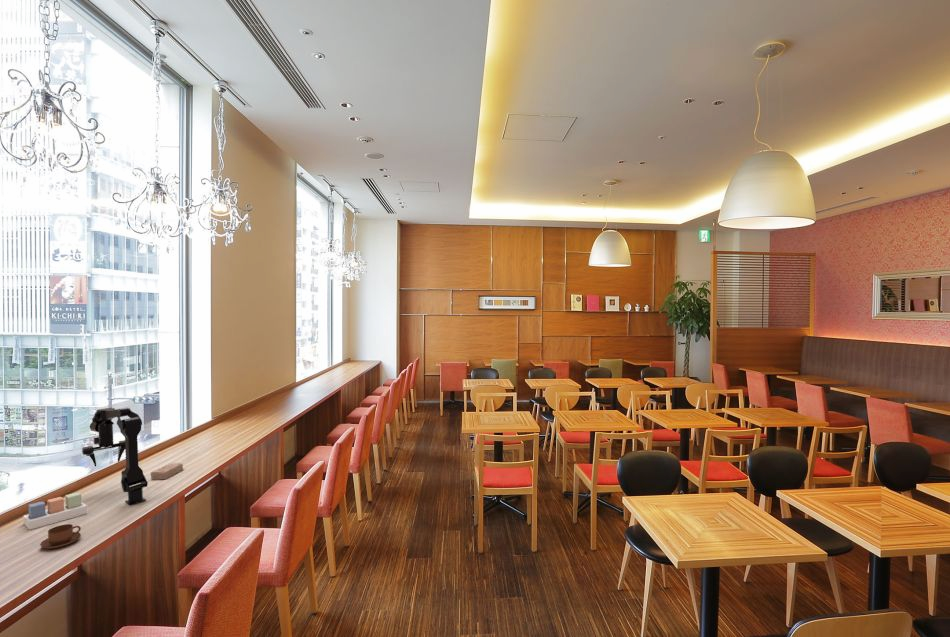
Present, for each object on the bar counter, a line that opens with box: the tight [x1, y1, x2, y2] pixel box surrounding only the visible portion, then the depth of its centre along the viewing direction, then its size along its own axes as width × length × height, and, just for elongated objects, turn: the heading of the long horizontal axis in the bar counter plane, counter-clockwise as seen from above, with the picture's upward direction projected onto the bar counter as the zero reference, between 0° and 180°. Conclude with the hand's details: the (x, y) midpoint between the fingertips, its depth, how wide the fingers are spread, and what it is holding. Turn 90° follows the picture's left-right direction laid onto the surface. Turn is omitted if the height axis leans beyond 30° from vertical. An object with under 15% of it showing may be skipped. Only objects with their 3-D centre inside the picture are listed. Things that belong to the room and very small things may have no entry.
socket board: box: [23, 502, 88, 530], centre depth 211 cm, size 10×19×4 cm, turn 144°
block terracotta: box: [46, 496, 65, 514], centre depth 211 cm, size 5×5×6 cm
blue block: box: [27, 501, 46, 520], centre depth 206 cm, size 5×5×6 cm
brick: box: [150, 462, 184, 480], centre depth 266 cm, size 17×8×5 cm, turn 1°
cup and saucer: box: [39, 523, 82, 550], centre depth 187 cm, size 12×12×6 cm
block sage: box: [64, 491, 83, 509], centre depth 216 cm, size 5×5×6 cm
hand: (107, 464), depth 241 cm, fingers open, 9 cm apart
